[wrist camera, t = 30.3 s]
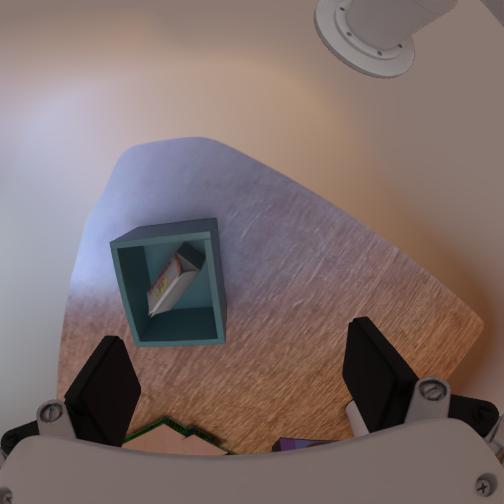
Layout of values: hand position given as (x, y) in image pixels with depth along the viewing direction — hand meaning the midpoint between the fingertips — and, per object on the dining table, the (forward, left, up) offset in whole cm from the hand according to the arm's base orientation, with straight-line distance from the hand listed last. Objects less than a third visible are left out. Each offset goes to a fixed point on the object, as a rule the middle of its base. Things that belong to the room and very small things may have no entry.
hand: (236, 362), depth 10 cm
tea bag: (+4, -8, -28) cm, 29 cm away
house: (+53, -22, -29) cm, 64 cm away
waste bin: (+5, -8, -29) cm, 30 cm away
